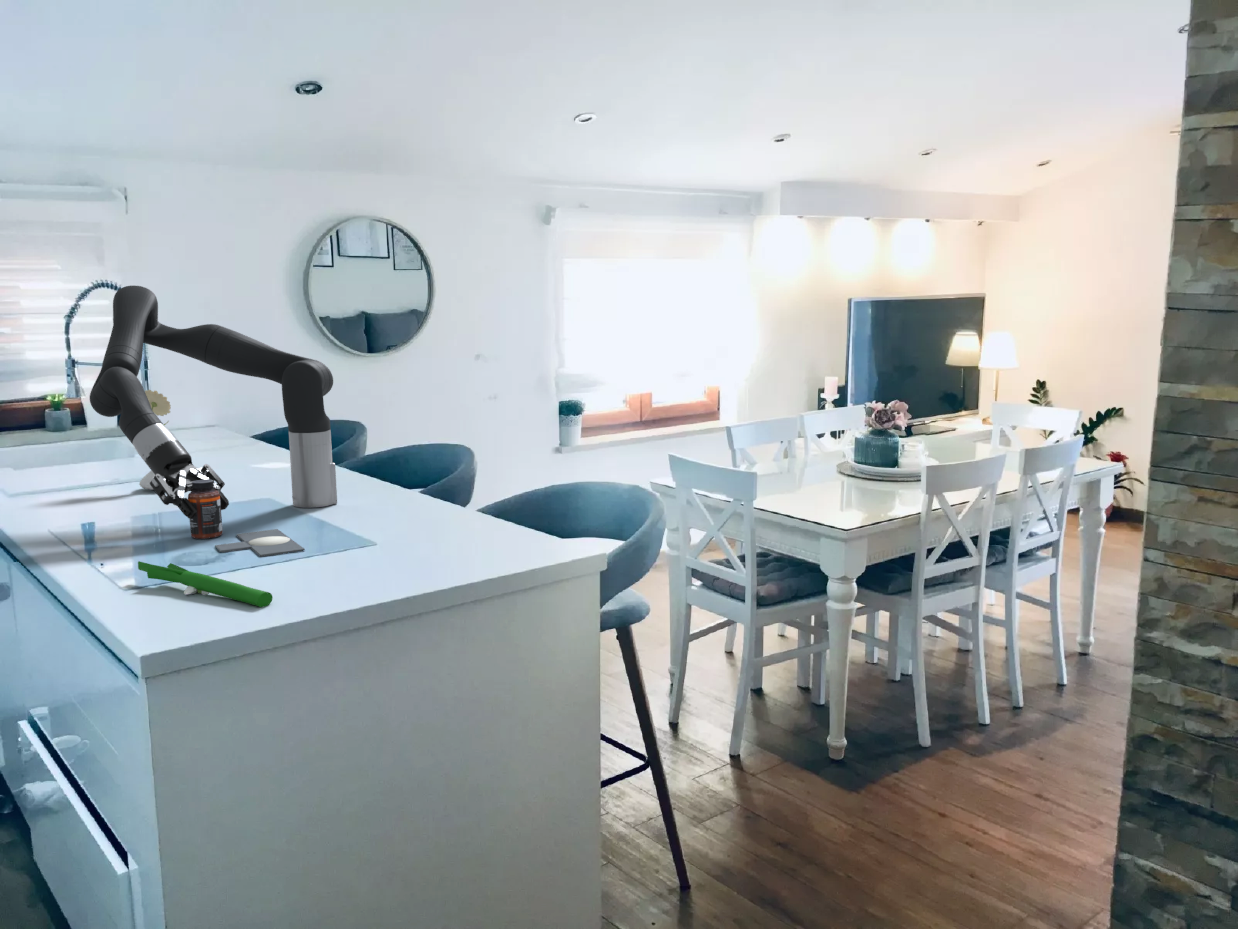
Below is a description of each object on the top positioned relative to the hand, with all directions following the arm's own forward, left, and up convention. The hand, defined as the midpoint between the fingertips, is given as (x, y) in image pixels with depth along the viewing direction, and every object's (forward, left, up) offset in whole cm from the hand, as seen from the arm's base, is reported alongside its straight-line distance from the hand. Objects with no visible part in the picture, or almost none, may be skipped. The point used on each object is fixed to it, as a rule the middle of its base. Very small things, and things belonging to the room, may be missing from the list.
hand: (209, 511), depth 196 cm
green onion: (+10, +40, -6) cm, 42 cm away
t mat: (-6, +12, -5) cm, 14 cm away
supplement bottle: (+1, -1, -5) cm, 6 cm away
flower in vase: (0, -63, -5) cm, 63 cm away
